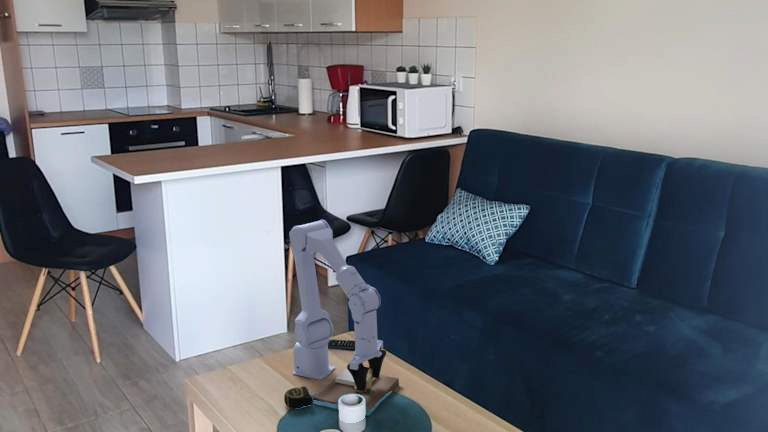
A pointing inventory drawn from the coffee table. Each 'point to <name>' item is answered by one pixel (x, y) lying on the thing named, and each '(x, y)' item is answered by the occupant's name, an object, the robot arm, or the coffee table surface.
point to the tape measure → (297, 398)
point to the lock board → (377, 392)
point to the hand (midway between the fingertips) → (368, 383)
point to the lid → (346, 378)
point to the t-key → (367, 382)
